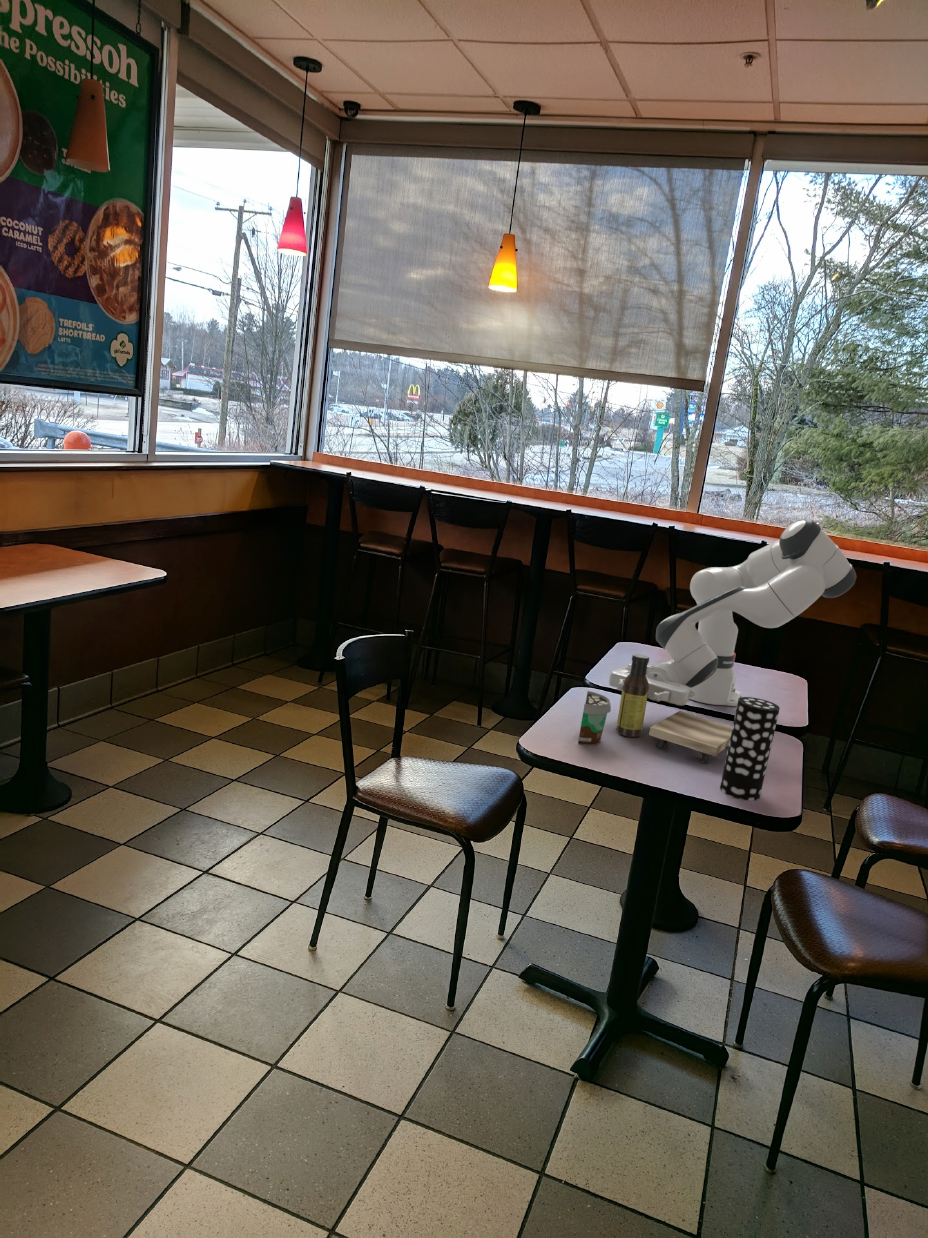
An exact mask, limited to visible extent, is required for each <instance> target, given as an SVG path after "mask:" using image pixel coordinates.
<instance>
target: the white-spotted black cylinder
mask: <svg viewBox="0 0 928 1238" xmlns="http://www.w3.org/2000/svg"><path fill="white" fill-rule="evenodd" d="M780 708H781V707H780V706H779V705H778V704H776V703H774V702H772V701H769V700H766V699H763V698H758V697H752V696H740V698H739V699H738V703H737V706H736V710H735V715H734V719H733V724H732V726H733V728H732V732H731V737H730V742H729V747H728V748H727V752H726V757H725V762H724V766H723V770H722V771H723V772H722V774H721V775H722V776H721V781H720V784H719V789H720V791H721V792H723V793H724V794H725V795H727V796H729V797H732V798H735V799H739V800H740V801H741V800H742V801H750V802H751V801H758V800H759V799H760V798H761V794H762V789H763V785H764V781H765V776H766V772H767V767H768V762H769V757H770V754H771V749H772V744H773V741H774V736H775V732H776V726H777V722H778V718H779V714H780V713H779V712H780V710H781V709H780Z"/></svg>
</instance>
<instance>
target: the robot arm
mask: <svg viewBox="0 0 928 1238" xmlns="http://www.w3.org/2000/svg"><path fill="white" fill-rule="evenodd" d="M857 577H858V576H857V573H856V571H855V568H854V566H853V564H851V563H850V562H849V561H848V559H847V557H846V556H845V554H844V553H843V551H842V550H841V548H840V547H839V545H838V544H836V543H835V542H834V541H833V540H832V538H830V537H829V535H828V534H826V533H825V531H823V529H822V527H821V526H820V524H817V522H816V521H814V520H812V519H809V518H804V519H803V518H802V519H799V520H797V521H795V522H793V523H791V524H790V525H788V526H787V527H786V528H785V529H784V530H783V531H782V533H781V534H780V536H779V539H777V540H776V541H775V540H774V541H773V542H771V543H769V544H768V545H765V546H763V547H761V548H758V549H757V550H755V551H752V552H751V553H750V554H749V555H748V557H747V559H745V560H744V561H743V562H742V563H739V564H737V565H734V566H728V567H726V566H725V567H724V566H723V567H722V566H721V567H718V566H715V567H714V566H713V567H712V566H711V567H707V568H704V569H701V570H699V571H697V572H695V574H693V576H692V578H691V580H690V584H689V590H690V591H689V592H690V594H691V597H692V598H693V599H694V600H695V602H696V605H694V606H693V607H691V608H689V609H687V610H684V611H682V612H679V613H676V614H673V615H671V616H668V617H666V618H665V619H663V620H662V621H661V622H660V623H659V624H658V625H657V626H656V631H655V641H656V642H657V643H658V644H659V645H660V646H661V647H662V649H663V650H664V651H665V652H666V653H667V654H668V655H669V657H670V658H671V659H670V660H666V661H663V662H660V663H659V664H658V663H657V664H648V665H647V671H646V678H647V681H648V684H649V691H648V697H647V699H649V700H652V701H654V702H655V701H656V702H661V701H663V702H666V703H669V704H674V705H676V706H685V705H686V704H687V703H689V700H692V701H696V702H699V703H704V704H707V705H715V706H729V707H737V704H738V699H739V698H741V697H742V696H741V695H742V693H741V692H740V691H739V690H737V689H736V687H735V686H736V681H737V676H736V673H735V670H734V668H733V667H734V665H735V660H736V652H735V648H736V644H737V638H738V633H739V628H738V626H737V624H736V623H735V622H734V617H733V612H734V613H736V614H738V615H740V616H742V617H744V618H745V619H747V620H749V622H752V623H753V624H754V625H757V626H759V627H762V628H766V629H775V628H779V627H781V626H783V625H785V624H786V623H789V622H790V621H791V620H793V619H795V618H796V617H797V616H799V615H801V614H802V613H803V612H804V611H805V610H806V611H807V609H808V608H809V607H810V606H812V605H813V604H814V603H815V602H816V601H817V600H818V599H819V598H820V597H821V596H822V597H823V598H826V599H833V598H838V597H840V596H842V595H844V594H846V593H847V592H848V591H850V589H851V588H852V587H853V586H854V585H855V583H856V580H857ZM697 623H698V625H697V626H698V628H696V624H697ZM631 666H632V662H631V663H630V662H629V663H628V664H627V666H622V667H619V668H618V667H617V668H616V669H613V670H612V671H610V674H609V677H608V678H609V679H608V685H610V687H613V688H616V689H617V691H621V692H622V690H623V685H624V680H625V679H626V677H627V676H628V675H629V674H630V670H631Z"/></svg>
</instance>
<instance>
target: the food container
mask: <svg viewBox="0 0 928 1238" xmlns="http://www.w3.org/2000/svg"><path fill="white" fill-rule="evenodd" d="M585 698H586V699H585V703H584V704H583V705H584V707H583V711H582V712H583V713H582V717H581V722H580V730H579V735H578V741H577V744H578V743H579V744H578V745H585V746H587V745H589V746H590V745H597V743H598V744H600V742H601V739H602V736H603V732H604V728H605V723H606V719H607V716H608V713H609V714H610V713H611V711H612V709H611V708H612V707H611V704H612V703H611V700H610V698H608V697H606V695H603V694H601V693H598V692H594V691H590V690H587V692H586V697H585Z"/></svg>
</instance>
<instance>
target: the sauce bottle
mask: <svg viewBox="0 0 928 1238" xmlns="http://www.w3.org/2000/svg"><path fill="white" fill-rule="evenodd" d="M649 661H650V657H649V656H648V655H645V654H641V653H640V654H639V653H634V654H632V657H631V663H632V666H631V670H630V674H629V675H628V676H627V677H626V679H625V680H624V685H623V690H622V691H621V696H620V697H621V698H620V700H619V701H620V703H619V708H618V715H617V721H616V732H618V733H617V734H619V735H620V736H624V737H628V738H636V737H639V736H641V734H642V730H643V728H644V727H643V726H644V721H645V714H646V710H647V709H646V708H647V703H648V701H647V700H648V691H649V684H648V681H647V678H646V671H647V665H649Z"/></svg>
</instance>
